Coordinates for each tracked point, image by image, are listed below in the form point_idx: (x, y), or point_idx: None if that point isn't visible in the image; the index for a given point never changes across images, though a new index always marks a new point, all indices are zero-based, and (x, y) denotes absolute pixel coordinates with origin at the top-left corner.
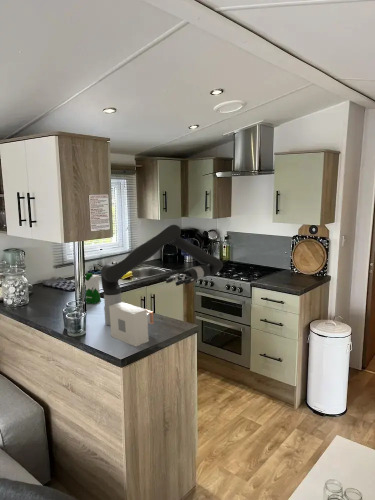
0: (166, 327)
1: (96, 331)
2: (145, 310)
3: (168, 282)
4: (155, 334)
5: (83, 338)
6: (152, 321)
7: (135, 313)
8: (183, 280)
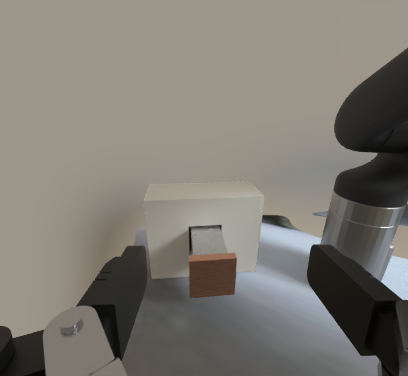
0: None
1: (290, 240)
2: (144, 199)
3: (317, 291)
4: (175, 317)
5: (262, 221)
6: (189, 286)
7: (149, 186)
8: (53, 331)
